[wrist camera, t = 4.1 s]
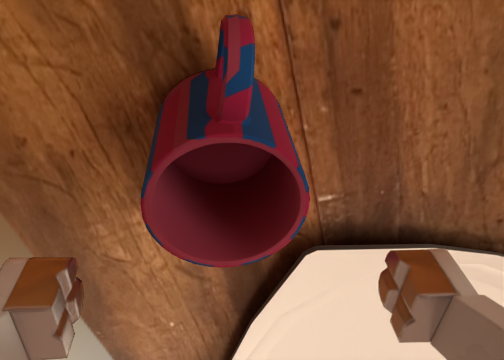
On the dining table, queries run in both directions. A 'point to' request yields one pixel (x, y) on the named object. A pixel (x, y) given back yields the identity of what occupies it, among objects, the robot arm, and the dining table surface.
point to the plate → (348, 306)
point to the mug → (224, 163)
